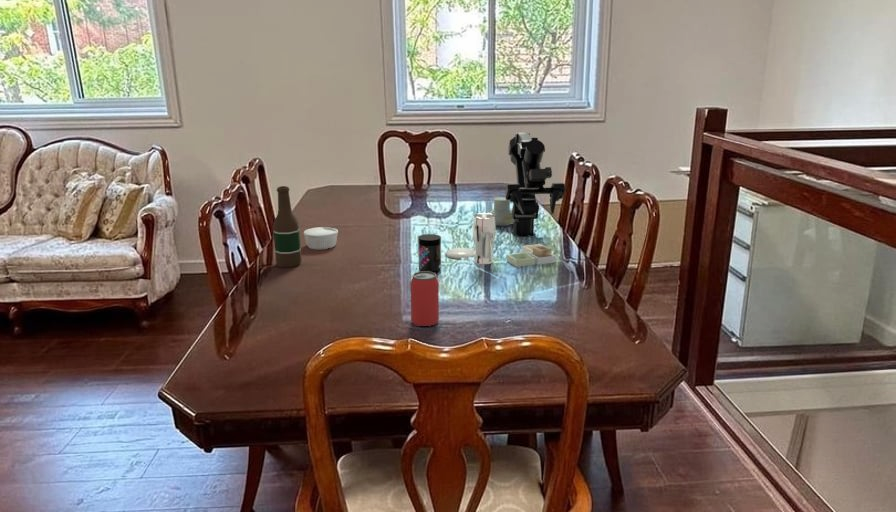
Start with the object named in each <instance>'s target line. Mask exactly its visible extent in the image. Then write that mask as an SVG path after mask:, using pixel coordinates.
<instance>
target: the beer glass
mask: <svg viewBox="0 0 896 512" xmlns="http://www.w3.org/2000/svg"><path fill="white" fill-rule="evenodd" d="M472 219H473V220H472V239H473V244H474V245H473V246H474V250H475V256H473V257H474V259H473V263H475V264H478V265H490V264H493V263H494V258H493V249H494V242H495V238H496V230H497V229H496V228H497V227H496V226H497V225H496V224H495V215H494V214H489V212H486V213H485V212H480V213H474V214H473V218H472Z"/></svg>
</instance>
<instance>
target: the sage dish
mask: <svg viewBox="0 0 896 512" xmlns="http://www.w3.org/2000/svg"><path fill="white" fill-rule="evenodd" d="M506 263H509V264H511V265H512V266H513V267H515V268H518V267H528V266H535V265H536V264H535V258H534V257H532V256H531V255H529V254H527V253H525V252H524V253H523V252H518V253H510V254H509V253H508V254H506Z"/></svg>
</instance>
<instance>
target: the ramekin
mask: <svg viewBox="0 0 896 512" xmlns="http://www.w3.org/2000/svg"><path fill="white" fill-rule="evenodd" d="M338 235H339V230H338V229H337V228H333V227H329V226H320V227H319V226H318V227H312V228H308V229H307V228H306V229H305V230H304V231H303V236H304V239H305V243H306V246H307V247H308V248H309V249H311V250H319V251H320V250H328V248H329V249H332V248H334V247H335V246H336V245H337V240H338Z"/></svg>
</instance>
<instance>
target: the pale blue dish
mask: <svg viewBox="0 0 896 512" xmlns="http://www.w3.org/2000/svg"><path fill="white" fill-rule="evenodd" d="M528 254H529V255H531V256H532V257H534V258H535V265H540V266H541V265H545V264H553V263H556V262H557V256H556V255H555V254H553V253H551V256H547V257H540V258H538V257H537V256H535V255H533V252H528Z"/></svg>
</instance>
